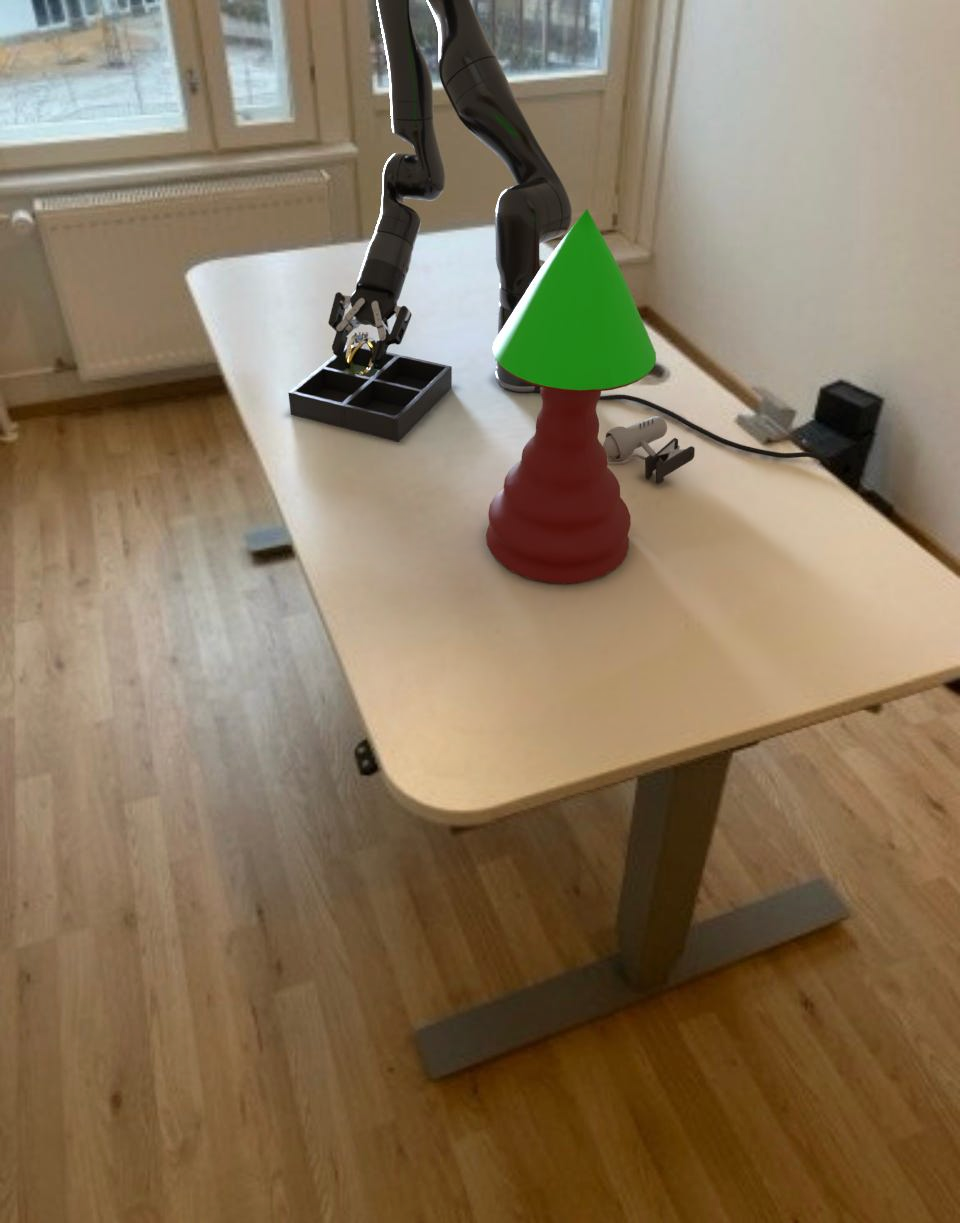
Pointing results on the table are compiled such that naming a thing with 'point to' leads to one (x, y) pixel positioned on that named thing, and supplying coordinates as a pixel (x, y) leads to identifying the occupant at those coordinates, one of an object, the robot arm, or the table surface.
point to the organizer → (372, 393)
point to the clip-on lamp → (647, 447)
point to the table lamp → (568, 414)
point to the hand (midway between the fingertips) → (355, 359)
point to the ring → (351, 356)
